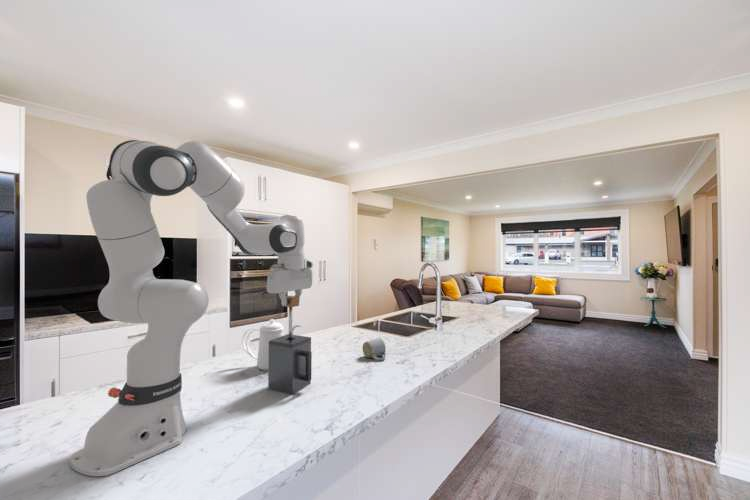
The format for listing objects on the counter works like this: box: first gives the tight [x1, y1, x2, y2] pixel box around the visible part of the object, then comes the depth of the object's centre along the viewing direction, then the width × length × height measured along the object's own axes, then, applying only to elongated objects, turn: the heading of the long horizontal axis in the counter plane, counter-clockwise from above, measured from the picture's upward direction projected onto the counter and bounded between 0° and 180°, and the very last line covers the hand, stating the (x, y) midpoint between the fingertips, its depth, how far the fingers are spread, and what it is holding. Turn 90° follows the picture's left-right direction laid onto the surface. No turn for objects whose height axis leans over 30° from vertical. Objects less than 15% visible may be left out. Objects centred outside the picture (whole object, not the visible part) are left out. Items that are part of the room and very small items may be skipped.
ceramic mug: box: [362, 337, 387, 362], centre depth 146 cm, size 11×8×8 cm
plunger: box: [281, 295, 300, 340], centre depth 114 cm, size 7×7×19 cm
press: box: [267, 333, 312, 396], centre depth 114 cm, size 10×13×16 cm
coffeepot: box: [242, 319, 304, 371], centre depth 134 cm, size 11×25×19 cm, turn 84°
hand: (290, 303), depth 114 cm, fingers open, 5 cm apart
